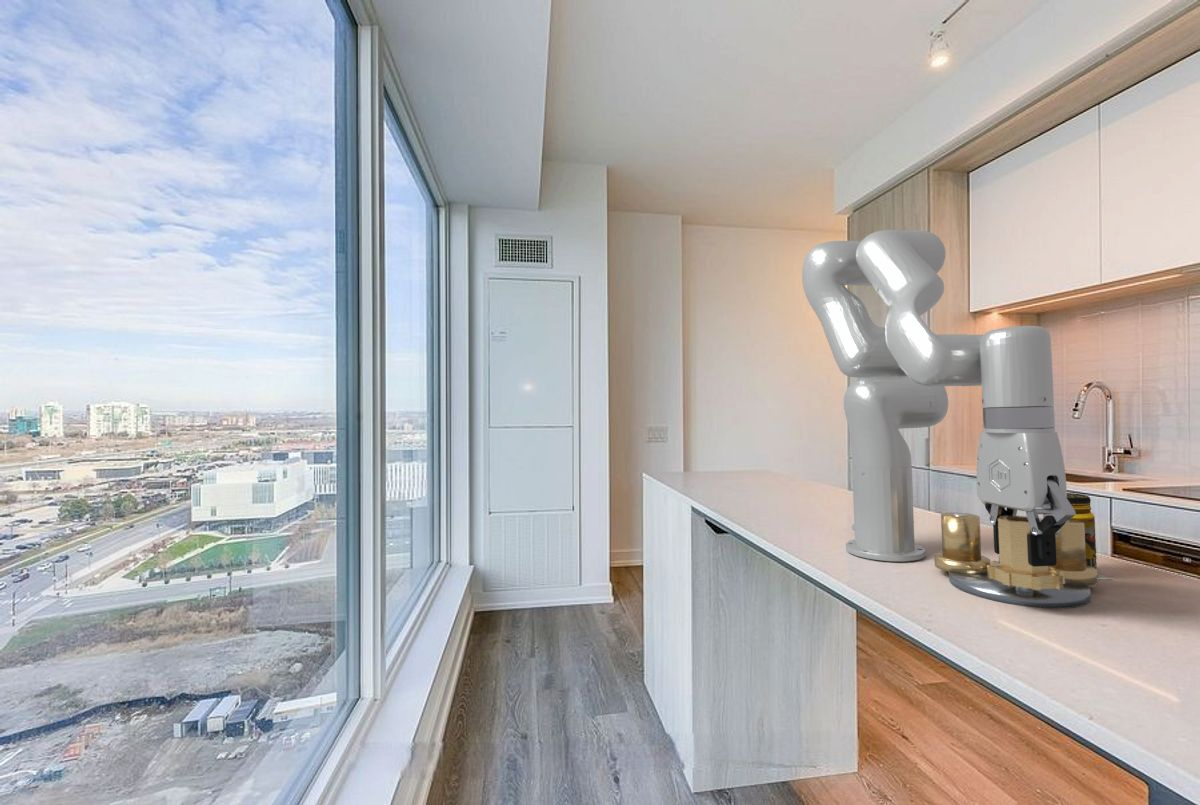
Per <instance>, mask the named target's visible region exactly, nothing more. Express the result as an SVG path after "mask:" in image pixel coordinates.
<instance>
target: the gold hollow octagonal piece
mask: <svg viewBox="0 0 1200 805" xmlns="http://www.w3.org/2000/svg"><path fill="white" fill-rule="evenodd" d="M1039 520H1040V522H1041V520H1042V519H1041V517H1039ZM998 532H999V554H998V555H999V556H1000V561H999V560H990V564H991V565H987V571H988V578H989V579H995V580H997V581H999V582H1002V583H1003V584H1004V585H1008V586H1011V585H1012V586H1018V587H1025V588H1031V589H1033V590H1041V589H1059V590H1060V589H1063V584H1065V576H1064V571H1063V570H1060V569H1055V568H1052V567H1050V566H1031V565H1029V563H1028V549H1027V534H1032V532H1031V529H1030V526H1029V522H1028V518H1027V515H1026V516H1025V515H1017V514H1016V515H1013V516H1000V517H999V518H998Z"/></svg>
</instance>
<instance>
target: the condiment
mask: <svg viewBox="0 0 1200 805" xmlns="http://www.w3.org/2000/svg"><path fill="white" fill-rule="evenodd" d="M1067 499H1068V501H1069V502H1070V504H1071V505H1072V507H1073V508H1074V510H1075V513H1076V514H1075V516H1074V517H1072V518H1071V520H1077V521H1081V522H1083V523H1084V529H1085V552H1086V565H1088V566H1091V567H1093V568H1095V569H1096V570H1097V571H1098V567H1097V565H1098V564H1097V546H1096V521H1095V520H1096V519H1095V515H1094V513H1093V512H1092V511H1091V510H1092V507H1091V504H1092V503H1091V501H1092V500H1091V498H1090V496H1088V495H1086V494H1082V493H1081V494H1080V493H1071V492H1067ZM1042 515H1043V517H1042V518H1044V514H1042ZM1098 580H1105V581H1106V580H1112V578H1111V577H1108V576H1106V575H1102V574H1100V573H1098V572H1097V581H1098Z"/></svg>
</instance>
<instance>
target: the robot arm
mask: <svg viewBox="0 0 1200 805" xmlns="http://www.w3.org/2000/svg"><path fill="white" fill-rule="evenodd" d="M945 259H946V248H945V244H944V243H943V241H942V239H941V238H940V237H939V236H938V235H937V234H935V233H934V232H930V231H927V230H907V229H906V230H905V229H883V230H882V229H881V230H877V231H875V232H871V233H870V234H868V235H867V236H865V237H864V238H863V239H862V240H861V241H859V240H833V241H832V240H831V241H825V242H821V243H819V244H816V245H814V246H813V247H812V248H811V249H810V250H809V251H808V252H807V254H806V255H805V258H804V261H803V262H802V263H803V264H802V272H801V277H802V278H801V281H802V288H803V291H804V294H805V296H806V299H807V301H808V303H809V305H810V307H811V308H812V310H813V311H814V313H815V315H816V316H817V318H818V320H819V322H820V324H821V327H822V329H823V332H824V336H825V338H826V340H827V344H828V345H829V348H830V351H831V354H832V356H833V358H834V361H835V362H836V365H837V367H838V369H839V372H841V373H842V374H843V375H845V376H847V377H849V378H861V379H857V380H856V381H854V382H852V383H851V384H850V385H849V386H848V387H847V389H846V390H845V392H844V397H843V409H844V414H845V418H846V421H847V422H846V423H847V428H848V431H849V438H850V448H851V449H850V450H851V469H852V470H851V472H852V494H853V495H852V497H853V498H852V499H853V502H852V503H853V524H852V525H851V530H853V532H854V539H851V540H849V541H847V542H846V543H845V550H846V551H847V552H848V553H850V554H851V555H853V556H857V557H860V558H862V559H863V558H864V559H868V560H874V561H883V562H896V563H897V562H913V561H919V560H922V559H924V558H925V557H926V549H925V548H924V547H923V546H921V545H919V544H916V543H915V521H914V520H915V518H914V496H913V495H914V492H913V491H914V490H913V487H914V486H913V466H912V454H911V451H910V448H909V445H908V443H907V442H906V440H905V438H904V436H903V435H902V433H901V432H900V429H920V428H929V427H933V426H936V425H938V424H939V423H941V422H942V421H943V420H944V418H945V417H946V416H947V413H948V409H949V397H948V393H947V389H946V387H980V386H981V398H982V399H981V400H982V401H981V402H982V421H983V422H982V423H983V430H981V431H980V436H979V440H978V446H977V454H976V456H977V457H976V495H977V497H978V498H979V500H980V501H981V503H982V504H983V505H984V506H985V510H986V511H987V512H988V515H989V521H990V523H991V524H993V526H992V528H993V529H992V530H993V550H994V553H995V554H997V555H1000V554H999V532H998V518H999V517H1000V516H1013V515H1016V516H1017V514H1018V511H1020V512H1021V511H1022V512H1025V514H1026V516H1027V518H1028V522H1029V526H1030V529H1031V532H1032V534H1027V549H1028V563H1029V565H1031V566H1055V565H1056V564H1057V559H1056V538H1055V535H1058V534H1059V533H1060V528H1061V527H1062V526H1063V525H1064V524H1065V522H1067V521H1068V520H1069V519H1071V518H1072V517H1074V516H1075V514H1076V513H1075V510H1074V508H1073V507H1072V505H1071V504H1070V502H1069V501H1068V499H1067V493H1068V492H1067V490H1068V489H1067V478H1066V477H1067V476H1066V468H1065V461H1064V456H1063V451H1062V447H1061V442H1060V439H1059V436H1058V433H1057V431H1056V424H1055V423H1056V422H1055V420H1056V418H1055V401H1054V400H1055V398H1054V380H1053V379H1054V377H1053V376H1054V375H1053V358H1052V357H1053V356H1052V355H1053V354H1052V338H1051V334H1050V332H1049V330H1048V329H1047V328H1045V327H1043V326H1038V325H1021V326H1020V325H1017V326H1009V327H1002V328H996V329H995V328H994V329H991V330H989V331H987V332H985V333H984V334H967V333H965V334H964V333H963V334H962V333H957V334H956V333H954V334H953V333H948V334H947V333H946V334H940V333H939V334H935V333H934V332H933V331H932V330H931V329H930V327H929V326H928V325H927V324H926V322H925V321H924V320H923V319H922V318H921V316H922V315H924V314H926V313H928V311H931V309H932V308H934V306H936V305H937V304H938V302H940V300H941V298H942V296H943V295H944V291H945V284H944V280H943V279H942V278H941V277H940V275H938V273H939V272H940V271H941V270H942V268H943V267H944V264H945V261H946V260H945ZM846 286H861V287H862V286H865V287H866V286H867V287H869V286H871V287H873V289H874V290H875V292H876V293H877V294H878V296H879V297H880V299H881V300H882V301H883V302H884V304H885V305H886V307H887V308H888V312H887V314H886V318H885V325H884V326H885V327H882V326H878V325H876V324H875V323H874V321H873V320H872V318H871V316H870V314H869V311H868V309H867V306H866V305H865V303H864V302H863V301H862V300H861V299H860V298H859V297H858V296H857V295H855V293H853V292H852V291H851V290H849V289H848V288H847V287H846ZM1043 514H1044V518H1043V517H1042V518H1043V519H1042V520H1041V522H1040V520H1039V518H1040V517H1039V515H1043Z"/></svg>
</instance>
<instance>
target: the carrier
mask: <svg viewBox="0 0 1200 805" xmlns="http://www.w3.org/2000/svg"><path fill="white" fill-rule="evenodd" d="M1040 518H1041V517H1040ZM1041 519H1043V517H1042V518H1041ZM940 527H941V551H939V552H935V553H934V554H933V555H934V556H933V557H934V567H935V568H937V569H939V570H941V571H945V572H948V582H949V583H950V584H951V585H952V586H953V587H955V588H957V589H958V590H960V591H963V592H964V593H967V594H969V595H972V596H976V597H979V598H983V599H987V600H991V601H993V602H1000V603H1005V604H1010V605H1011V604H1012V605H1015V606H1016V605H1017V606H1024V607H1032V608H1045V609H1046V608H1047V609H1067V608H1069V607H1070V608H1076V607H1077V606H1078V607H1081V605H1083V606H1085V605H1088V604H1089V603H1090V602H1091V600H1092V599H1091V588H1090V586H1093V585H1096V584H1098V580H1097V573H1098V569H1097V570H1096V569H1095V568H1093V567H1091V566H1088V565H1086V552H1085V529H1084V523H1083V522H1081V521H1077V520H1071V519H1069V520H1068V521H1067V522H1065V524H1064V525H1063V526H1062V527H1061V528H1060V533H1059V534H1058V535H1055V538H1056V559H1057V564H1056V565H1055V566H1050V567H1052V568H1055V569H1060V570H1063V571H1064V576H1065V584H1063V589H1060V590H1059V589H1041V590H1033V589H1031V588H1025V587H1018V586H1012V585H1011V586H1008V585H1004V584H1003V583H1002V582H999V581H997V580H995V579H989V578H988V571H987V565H991V564H990V561H991V559H990V558H989V557H986V556H984V555H982V544H981V543H982V542H981V540H982V539H981V538H982V537H981V517H980V516H979V515H976V514H974V513H973V514H972V513H968V512H967V513H966V512H942V513H941V514H940ZM998 561H1000V555H998ZM1088 602H1089V603H1088ZM1087 603H1088V604H1087ZM1078 607H1077V608H1078ZM1070 608H1069V609H1070Z"/></svg>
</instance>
